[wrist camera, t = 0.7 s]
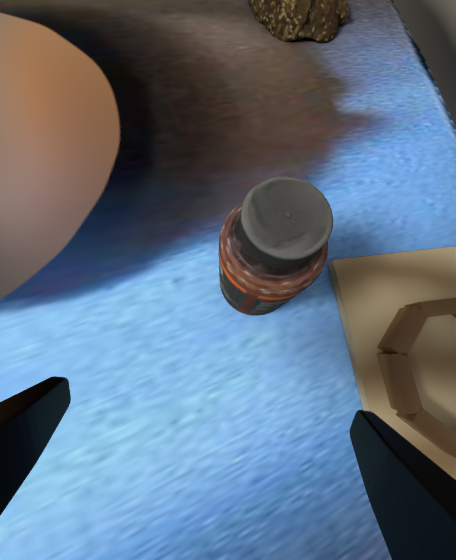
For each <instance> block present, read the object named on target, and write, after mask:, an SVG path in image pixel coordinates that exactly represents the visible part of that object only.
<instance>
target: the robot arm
mask: <svg viewBox="0 0 456 560" xmlns="http://www.w3.org/2000/svg"><path fill="white" fill-rule="evenodd" d="M70 400H71V396H70V389H69V381H68V379H67V378H64V377H50V378H48V379H46V380H44V381H42V382H40V383H38V384H36V385H34V386H32V387H30V388H28V389H26V390H24V391H22V392H20V393H18V394H16V395H14V396H12V397H10V398H8V399H6V400H4V401H2V402H0V515H1V514H2V512H3V511H4V509H5V508H6V506H7V505H8V504H9V502H10V501H11V499H12V498H13V496H14V495H15V493H16V492H17V490H18V489H19V487H20V486H21V484H22V483H23V482H24V480H25V479H26V477H27V476H28V474H29V473H30V471H31V470H32V468H33V467H34V465H35V464H36V462H37V461H38V459H39V457H40V456H41V454H42V452H43V451H44V449H45V447H46V445H47V444H48V442H49V440H50V438H51V437H52V435H53V433H54V431H55V430H56V428H57V426H58V424H59V423H60V421H61V419H62V417H63V416H64V414H65V412H66V410H67V409H68V407H69V404H70ZM350 438H351V442H352V445H353V448H354V452H355V455H356V458H357V462H358V465H359V469H360V472H361V475H362V479H363V482H364V485H365V489H366V492H367V495H368V498H369V501H370V503H371V506H372V509H373V511H374V514H375V516H376V519H377V522H378V524H379V527H380V529H381V532H382V535H383V537H384V540H385V542H386V545H387V547H388V550H389V553H390V555H391V558H392V560H456V480H455V479H454V478H453V477H452V476H450V475H449V474H448V473H447V472H445V471H444V470H443V469H442V468H441V467H439V466H438V465H437V464H436V463H434V462H433V461H432V460H431V459H430V458H428V457H427V456H426V455H425V454H423V453H422V452H421V451H420V450H419V449H417V448H416V447H415V446H414V445H413V444H411V443H410V442H409V441H408V440H406V439H405V438H404V437H403V436H402V435H400V434H399V433H398V432H397V431H395V430H394V429H393V428H392V427H391V426H389V425H388V424H387V423H386V422H384V421H383V420H382V419H381V418H380V417H378V416H377V415H376V414H375V413H373V412H371V411H365V410H358V411H357V412H356V414H355V417H354V419H353V422H352V425H351V428H350Z"/></svg>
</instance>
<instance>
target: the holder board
mask: <svg viewBox="0 0 456 560" xmlns="http://www.w3.org/2000/svg"><path fill="white" fill-rule="evenodd" d="M328 267H329V271H330V275H331V279H332V283H333V287H334V291H335V296H336V300H337V304H338V308H339V312H340V316H341V320H342V325H343V329H344V333H345V337H346V341H347V345H348V349H349V354H350V358H351V362H352V366H353V370H354V374H355V378H356V383H357V387H358V391H359V395H360V399H361V403H362V407H363V410H365V411H371V412H373V413H375V414H376V415H377V416H378V417H380V418H381V419H382V420H383V421H384V422H386V423H387V424H388V425H389V426H391V427H392V428H393V429H394V430H395V431H397V432H398V433H399V434H400V435H402V436H403V437H404V438H405V439H406V440H408V441H409V442H410V443H411V444H413V445H414V446H415V447H416V448H417V449H419V450H420V451H421V452H422V453H423V454H425V455H426V456H427V457H428V458H430V459H431V460H432V461H433V462H434V463H436V464H437V465H438V466H439V467H441V468H442V469H443V470H444V471H445V472H447V473H448V474H449V475H450V476H452V477H453V478H454V479H455V480H456V246H454V247H445V248H436V249H427V250H417V251H408V252H399V253H389V254H380V255H371V256H362V257H352V258H343V259H334V260H332V261H330V262H329V263H328Z"/></svg>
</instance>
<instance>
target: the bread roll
mask: <svg viewBox="0 0 456 560" xmlns="http://www.w3.org/2000/svg"><path fill="white" fill-rule="evenodd" d="M248 3H249V6H250V7H251V9H252V11H253V12H254V14H255V17H256V19H257V21H258V22H260V23H262V24H263V25H264V26H265V27H266V28H267V29H268V31H269V32H270V33H271V34H272V35H273V37H275V38H277V39H279V40H281V41H293V40H297V39H303V38H309V39H314V40H315V41H316V42H317V43H327V42H329V41H331V40H332V39H333V38H334V37H335V35H336V33H337V31H338V26H340V25H342V24H343V23H345V21H346V19H347V17H348V14H349V9H350V8H348V4H347V0H248Z"/></svg>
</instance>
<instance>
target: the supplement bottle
mask: <svg viewBox="0 0 456 560" xmlns="http://www.w3.org/2000/svg"><path fill="white" fill-rule="evenodd" d="M332 228H333V216H332V210H331V208H330V205H329V203H328V201H327V199H326V198H325V197H324V195H323V194H322V193H321V192H320V191H319V190H318V189H317V188H316V187H314V186H313V185H311V184H309V183H308V182H306V181H303V180H301V179H297V178H293V177H273V178H270V179H267V180H265V181H263V182H261V183H260V184H257V185H256V186H255V187H254V188H253V189H252V190H250V192H249V193H248V194H247V196H246V197H245V200H244V202H242V203H241V204H240V205H238V206H237V207H236V208H235V209H233V210H232V212H231V213H230V214H229V216H228V217H227V219H226V220H225V222H224V224H223V227H222V229H221V233H220V238H219V275H220V287H221V290H222V293H223V295H224V297H225V299H226V301H227V302H228V303H229V304H230V305H231V306H232V307H233V308H234V309H236V310H237V311H239V312H241V313H244V314H247V315H264V314H267V313H269V312H272V311H274V310H275V309H277V308H279V307H280V306H281V305H283V304H284V303H286V302H287V301H289V300H290V299H291V298H293V297H294V296H296V295H297V294H299V293H300V292H302V291H303V290H305V289H306V288H307V287H309V286H310V285H311V284H312V283H313V282H314V281H315V280H316V279H317V277H318V276H319V274H320V273H321V271H322V269H323V267H324V265H325V262H326V259H327V254H328V241H327V240H328V239H329V237H330V234H331V232H332Z"/></svg>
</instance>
